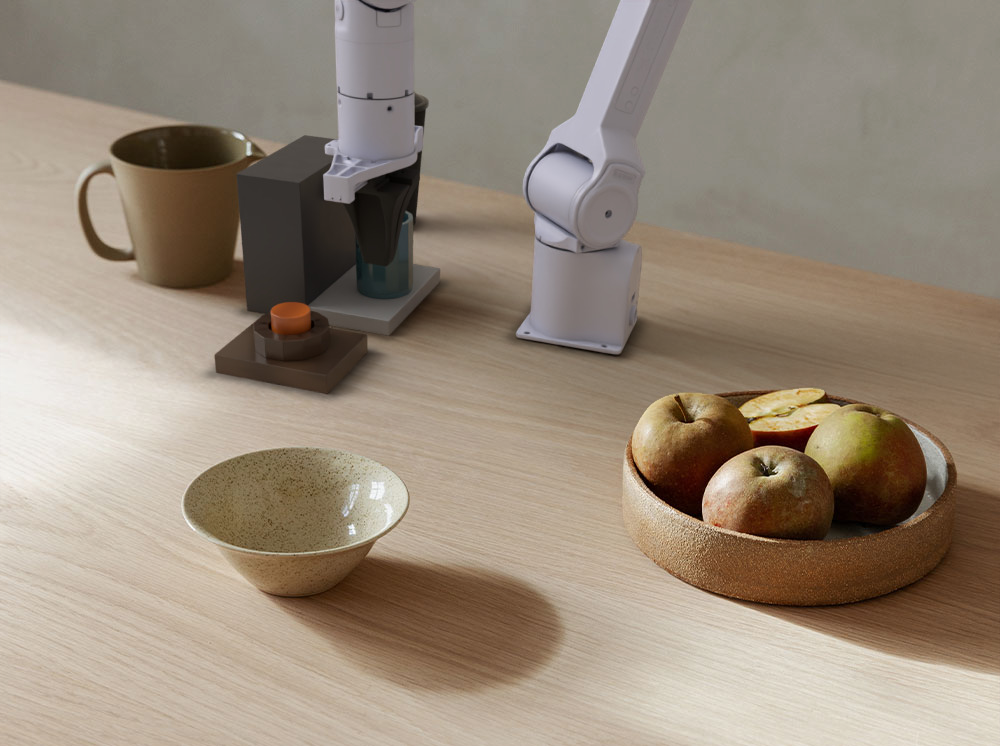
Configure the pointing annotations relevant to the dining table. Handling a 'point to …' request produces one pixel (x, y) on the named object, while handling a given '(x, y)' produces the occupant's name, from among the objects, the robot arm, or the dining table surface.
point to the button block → (293, 355)
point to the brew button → (291, 318)
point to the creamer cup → (388, 268)
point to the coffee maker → (310, 244)
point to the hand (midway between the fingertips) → (378, 261)
